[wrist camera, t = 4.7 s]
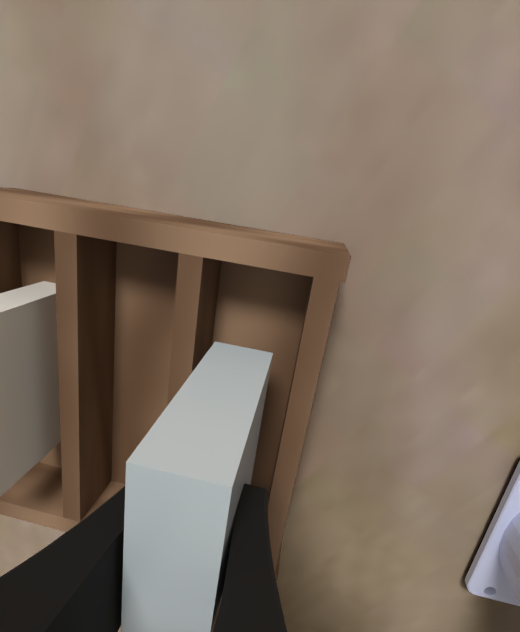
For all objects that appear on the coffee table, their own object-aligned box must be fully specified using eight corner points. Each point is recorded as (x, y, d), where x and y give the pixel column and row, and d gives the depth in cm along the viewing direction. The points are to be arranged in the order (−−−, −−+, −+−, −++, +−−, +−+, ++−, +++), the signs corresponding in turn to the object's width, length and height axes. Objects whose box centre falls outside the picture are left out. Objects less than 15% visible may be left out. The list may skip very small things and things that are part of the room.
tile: (74, 286, 15) (-37, 324, 11) (76, 427, 17) (-14, 510, 13) (43, 281, 15) (-79, 315, 11) (49, 420, 18) (-49, 500, 13)
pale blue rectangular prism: (273, 353, 12) (232, 487, 6) (245, 513, 14) (197, 716, 9) (215, 341, 12) (125, 461, 7) (197, 501, 15) (118, 692, 9)
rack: (343, 243, 14) (351, 256, 11) (282, 519, 18) (274, 588, 15) (14, 188, 15) (-69, 184, 12) (31, 456, 20) (-27, 506, 17)
